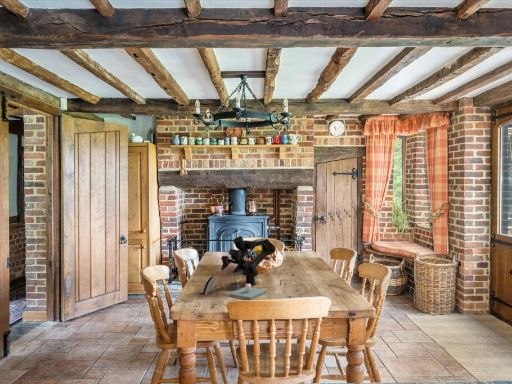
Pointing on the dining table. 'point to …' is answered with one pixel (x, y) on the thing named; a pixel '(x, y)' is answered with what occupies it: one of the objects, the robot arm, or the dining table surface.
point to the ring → (233, 286)
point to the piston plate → (247, 292)
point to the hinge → (208, 285)
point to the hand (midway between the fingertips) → (227, 271)
